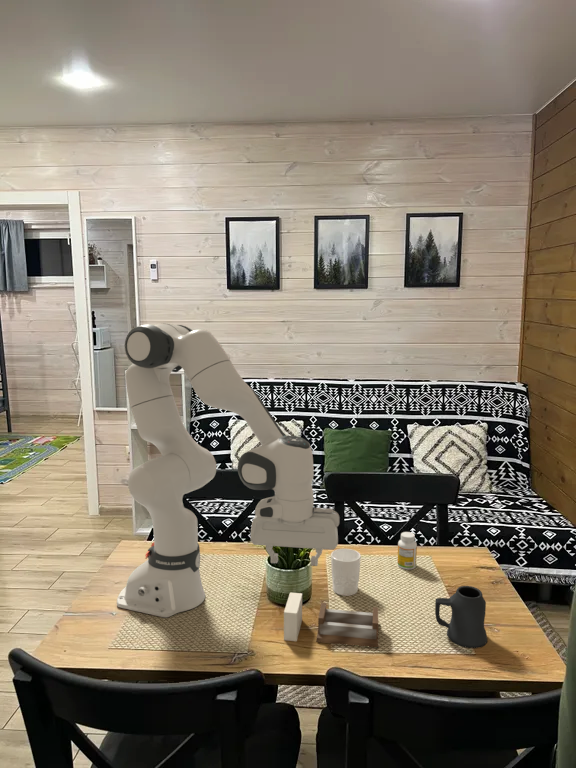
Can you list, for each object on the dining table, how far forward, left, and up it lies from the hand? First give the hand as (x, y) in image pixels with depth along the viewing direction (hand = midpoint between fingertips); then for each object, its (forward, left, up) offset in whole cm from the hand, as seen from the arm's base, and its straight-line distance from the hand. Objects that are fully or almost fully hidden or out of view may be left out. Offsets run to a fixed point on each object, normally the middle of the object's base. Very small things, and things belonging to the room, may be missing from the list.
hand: (294, 563), depth 135 cm
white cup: (+11, +21, -17) cm, 29 cm away
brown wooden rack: (+13, +1, -17) cm, 21 cm away
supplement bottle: (+28, +38, -17) cm, 50 cm away
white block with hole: (0, 0, -17) cm, 17 cm away
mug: (+39, +4, -17) cm, 43 cm away
